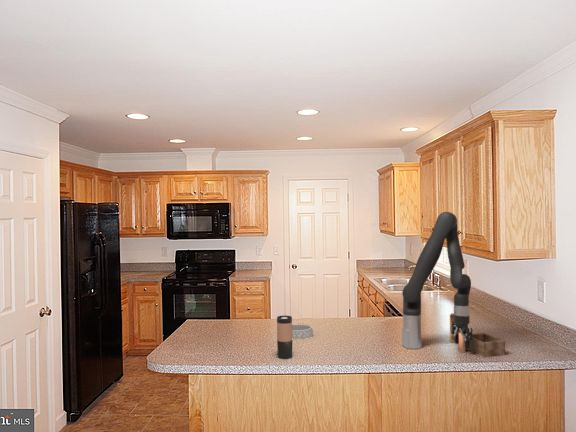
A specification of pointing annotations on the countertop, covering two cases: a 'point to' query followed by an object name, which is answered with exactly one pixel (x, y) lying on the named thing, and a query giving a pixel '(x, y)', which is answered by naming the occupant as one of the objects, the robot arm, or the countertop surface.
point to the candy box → (452, 337)
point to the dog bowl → (301, 331)
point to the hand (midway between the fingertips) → (462, 345)
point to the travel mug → (284, 337)
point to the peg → (461, 343)
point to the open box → (487, 345)
